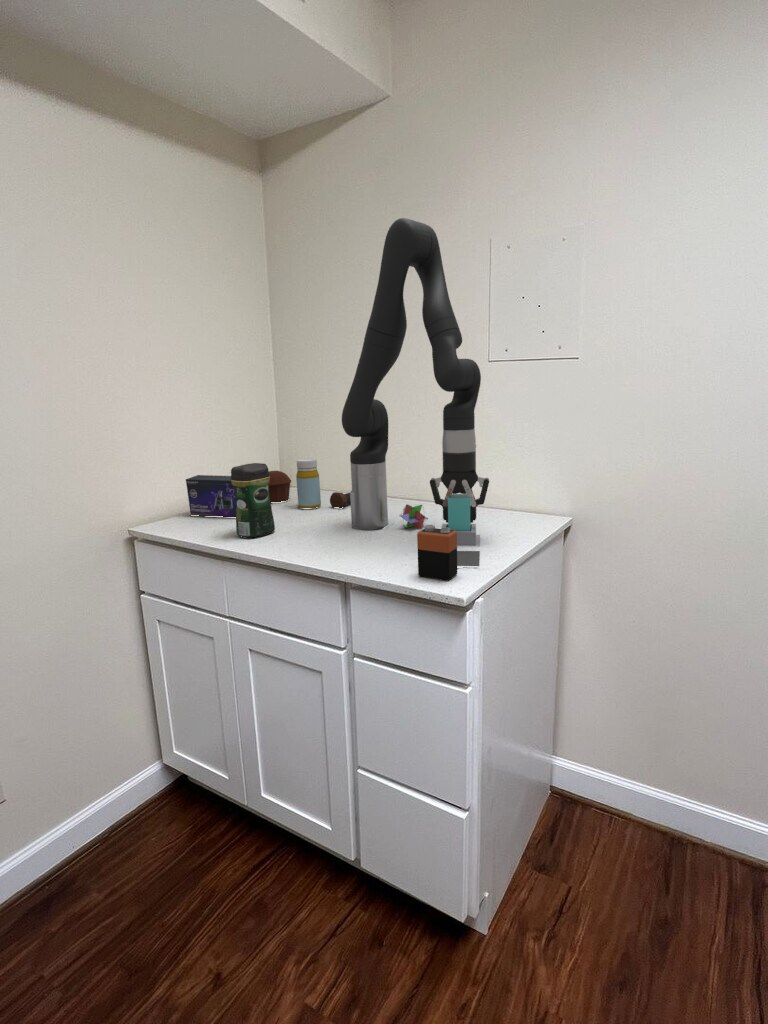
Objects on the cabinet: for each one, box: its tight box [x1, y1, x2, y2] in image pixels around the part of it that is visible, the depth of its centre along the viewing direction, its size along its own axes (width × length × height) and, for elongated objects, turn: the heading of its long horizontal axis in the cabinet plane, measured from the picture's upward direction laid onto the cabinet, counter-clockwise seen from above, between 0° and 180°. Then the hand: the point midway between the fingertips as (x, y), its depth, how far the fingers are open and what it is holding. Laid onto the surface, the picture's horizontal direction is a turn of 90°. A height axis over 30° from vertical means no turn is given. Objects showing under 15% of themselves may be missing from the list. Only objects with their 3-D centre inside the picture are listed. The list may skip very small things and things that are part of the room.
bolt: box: [329, 490, 352, 508], centre depth 184 cm, size 6×5×15 cm
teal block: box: [447, 493, 472, 531], centre depth 135 cm, size 5×5×10 cm
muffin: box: [268, 470, 292, 502], centre depth 192 cm, size 12×11×10 cm
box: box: [185, 474, 236, 517], centre depth 174 cm, size 17×7×12 cm, turn 72°
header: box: [440, 523, 481, 548], centre depth 136 cm, size 10×10×4 cm
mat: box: [457, 550, 481, 569], centre depth 123 cm, size 10×10×1 cm
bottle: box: [295, 458, 322, 509], centre depth 180 cm, size 7×7×15 cm
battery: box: [416, 524, 458, 581], centre depth 113 cm, size 4×7×10 cm, turn 59°
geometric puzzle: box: [399, 503, 429, 530], centre depth 149 cm, size 7×7×8 cm
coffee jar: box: [230, 462, 276, 538], centre depth 149 cm, size 10×8×19 cm
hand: (459, 521), depth 135 cm, fingers closed on teal block, 5 cm apart
